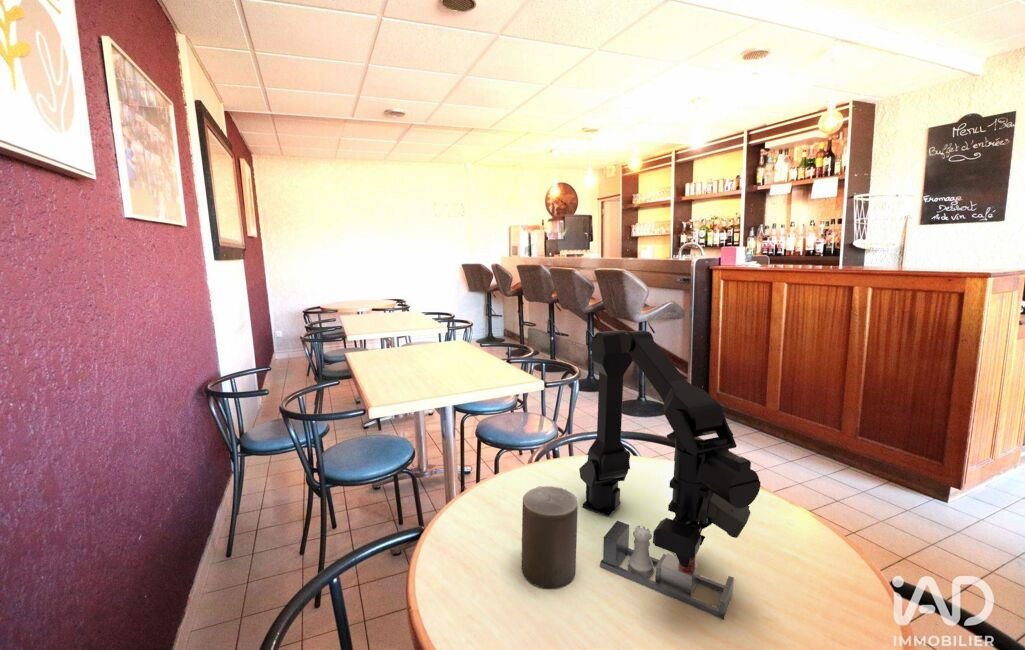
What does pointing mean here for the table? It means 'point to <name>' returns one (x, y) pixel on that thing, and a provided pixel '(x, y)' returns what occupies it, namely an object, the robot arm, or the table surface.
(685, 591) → the ram
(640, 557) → the rook chess piece
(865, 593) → the table surface
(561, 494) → the pillar candle
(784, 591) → the table surface
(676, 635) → the table surface
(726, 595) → the press bed
